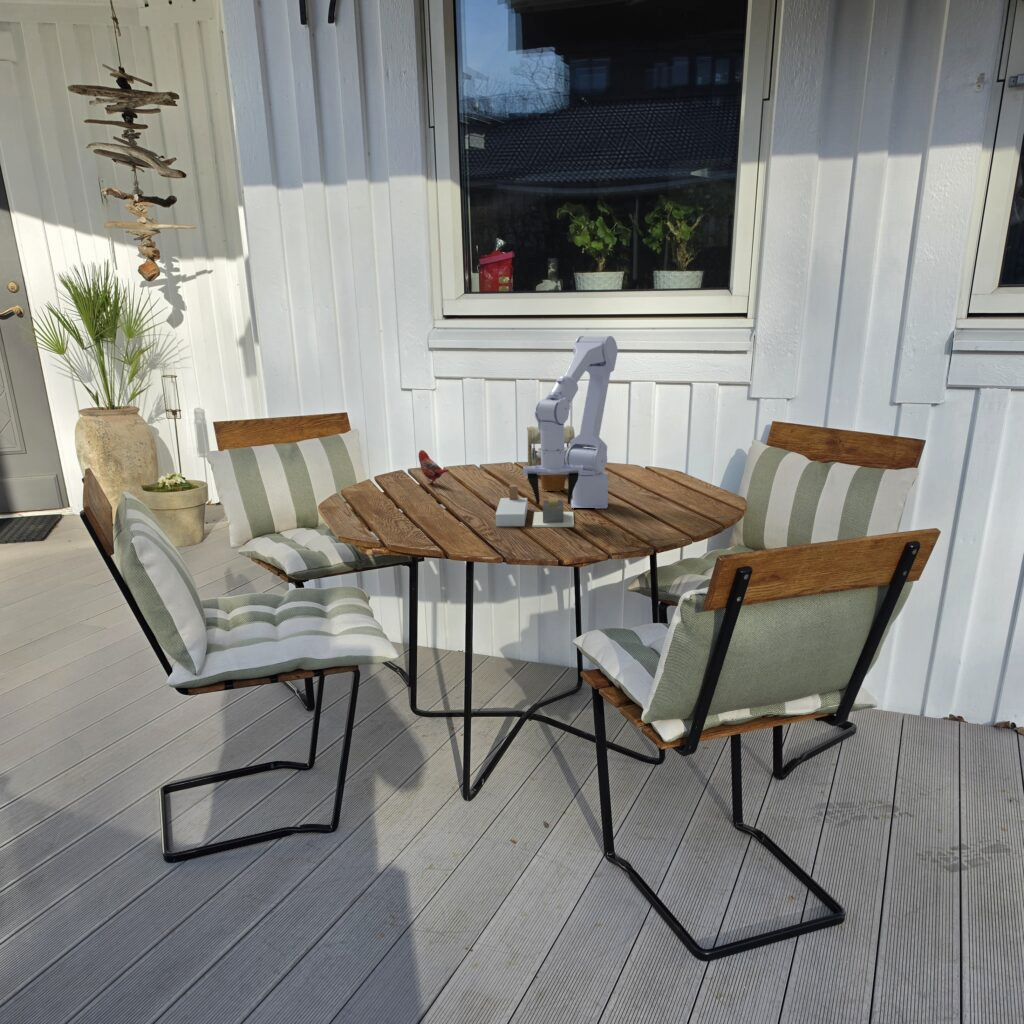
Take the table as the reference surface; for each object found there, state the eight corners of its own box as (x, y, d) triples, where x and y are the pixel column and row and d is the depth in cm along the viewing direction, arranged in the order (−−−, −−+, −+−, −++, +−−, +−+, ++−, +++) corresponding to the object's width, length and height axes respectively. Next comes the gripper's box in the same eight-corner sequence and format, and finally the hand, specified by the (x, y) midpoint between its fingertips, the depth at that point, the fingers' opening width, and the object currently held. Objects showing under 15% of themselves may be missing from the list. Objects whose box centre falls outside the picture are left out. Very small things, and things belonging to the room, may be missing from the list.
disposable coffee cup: (575, 491, 215) (575, 450, 212) (545, 495, 212) (544, 453, 208) (561, 484, 223) (560, 444, 220) (531, 488, 220) (530, 447, 217)
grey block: (563, 513, 190) (563, 496, 189) (563, 522, 183) (563, 504, 181) (543, 513, 191) (543, 496, 189) (542, 522, 183) (542, 504, 182)
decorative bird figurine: (424, 479, 235) (422, 448, 232) (454, 489, 221) (452, 456, 218) (415, 481, 233) (413, 449, 230) (445, 491, 219) (444, 457, 216)
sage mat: (573, 513, 192) (573, 511, 192) (573, 526, 181) (573, 524, 180) (534, 513, 193) (534, 512, 193) (532, 527, 181) (532, 525, 181)
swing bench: (528, 476, 235) (527, 430, 231) (527, 470, 244) (526, 425, 240) (575, 475, 235) (575, 428, 231) (572, 469, 244) (572, 424, 240)
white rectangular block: (527, 508, 198) (527, 484, 196) (524, 526, 182) (523, 500, 181) (501, 509, 198) (500, 485, 197) (495, 526, 183) (494, 500, 181)
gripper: (521, 452, 179) (523, 507, 182) (582, 451, 178) (583, 506, 181) (523, 447, 185) (524, 500, 189) (582, 446, 184) (582, 499, 188)
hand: (553, 503), depth 186 cm, fingers open, 7 cm apart
